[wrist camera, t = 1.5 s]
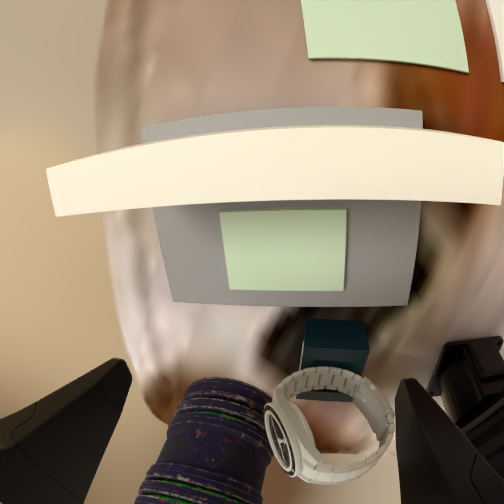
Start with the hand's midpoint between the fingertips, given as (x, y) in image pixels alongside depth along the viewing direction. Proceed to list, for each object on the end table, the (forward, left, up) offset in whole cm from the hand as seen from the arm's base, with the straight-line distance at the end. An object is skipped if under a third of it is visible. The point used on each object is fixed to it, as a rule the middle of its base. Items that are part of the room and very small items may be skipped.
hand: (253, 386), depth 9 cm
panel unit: (+2, 0, -12) cm, 12 cm away
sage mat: (+16, -7, -12) cm, 21 cm away
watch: (-9, -3, -12) cm, 15 cm away
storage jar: (-18, +6, -12) cm, 23 cm away
